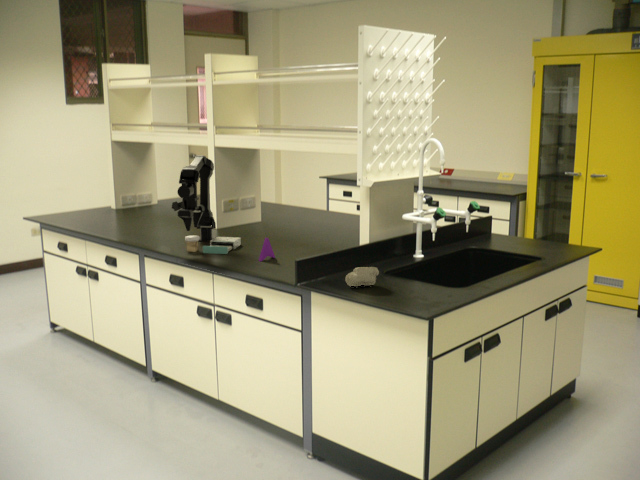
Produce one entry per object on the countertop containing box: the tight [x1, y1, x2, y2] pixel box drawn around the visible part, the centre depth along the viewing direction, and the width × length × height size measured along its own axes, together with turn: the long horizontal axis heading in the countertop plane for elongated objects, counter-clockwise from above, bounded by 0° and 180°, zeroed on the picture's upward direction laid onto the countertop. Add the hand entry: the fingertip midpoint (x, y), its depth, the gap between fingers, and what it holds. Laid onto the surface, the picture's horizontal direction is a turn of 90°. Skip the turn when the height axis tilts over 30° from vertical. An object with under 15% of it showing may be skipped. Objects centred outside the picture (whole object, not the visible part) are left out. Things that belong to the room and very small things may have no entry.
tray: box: [202, 244, 233, 255], centre depth 280 cm, size 10×12×3 cm
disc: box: [184, 234, 201, 242], centre depth 279 cm, size 6×6×2 cm
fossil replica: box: [345, 266, 380, 287], centre depth 223 cm, size 12×8×10 cm
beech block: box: [186, 241, 199, 253], centre depth 280 cm, size 4×4×5 cm
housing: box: [209, 236, 242, 250], centre depth 290 cm, size 10×12×4 cm
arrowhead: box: [258, 237, 276, 262], centre depth 264 cm, size 10×2×10 cm
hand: (192, 229), depth 279 cm, fingers open, 9 cm apart
